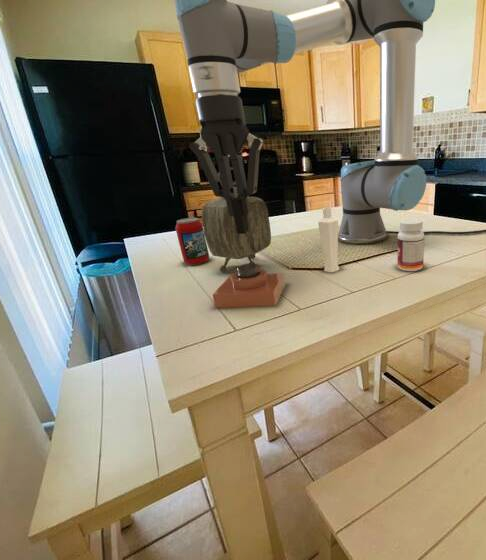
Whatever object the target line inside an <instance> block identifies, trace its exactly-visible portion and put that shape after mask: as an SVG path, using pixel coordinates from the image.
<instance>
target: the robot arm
mask: <svg viewBox="0 0 486 560" xmlns="http://www.w3.org/2000/svg"><path fill="white" fill-rule="evenodd" d="M174 6H175V11H176V19H177V21H178V25H179V29H180V33H181V38H182V42H183V46H184V52H185V55H186V59H187V66H188V71H189V76H190V81H191V86H192V90H193V94H194V95H196V96H198V97H196V99H195V105H196V111H197V115H198V120H199V123H200V131H199V137H198V138H197V139H196V140H195V141H194V142H190V143H189V145H188V147H189V149H190V150H191V152H193V153H194V155H195V156H196V157H197V159H198V162H199V163H200V166H201V168H202V170H203V173H204V175H205V177H206V179H207V181H208V183H209V187H210V188H211V190H212V192H213V195H214V196H215V197H216V198H224V199H225V200H226V203H227V208H228V213H229V215H230V216H234V219H235V224H236V230H237V234H245V233H246V232H247V231H249V228H248V222H247V216H246V215H249V214H250V206H249V200H248V197H250V196H251V195H253V194H255V193H257V191H258V183H259V181H258V180H259V168H260V167H259V165H260V153H261V150H262V148H263V146H264V140H263V138H260V137H257V136H255V135H253V133H252V134H251V132H250V128H248V126H247V124H246V118H245V111H244V106H243V99H242V98H241V97H240V96H239V94H240V93H241V86H240V81H239V75H238V74H241V73H244V72H247V71H251V70H253V69H256V68H258V67H261V66H264V65H268V64H272V63H273V64H274V65H277V64H287V63H289V62H290V61H292V59H293V57H294V56H296V55H298V54H301V53H305V52H308V51H310V50H315V49H316V48H320V47H322V46H323V47H324V46H326V45H329V44H332V43H334V44H336V45H340V46H341V45H344V44H345V45H346V44H348V43H353V42H358V41H365V40H370V39H371V40H372V39H373V41H374V43H376V44H377V45H378V47H379V153H378V154H377V156H376V157H375V158H374V160H366V161H360V162H355V163H349V164H345V165H343V166H342V167H341V169H340V179H339V180H340V189H341V190H340V191H341V204H342V219H341V222H340V226H339V229H338V241H340V242H342V243H345V244H350V245H369V244H374V243H379V242H382V241H384V240H385V239H386V238H387V234H391V235H393V234H394V235H398V233H399V232H400V231H393V230H387V229H386V227H385V224H384V220H383V218H382V215H381V209H387V210H393V211H395V212H396V211H410V210H412V209H414V208H416V206H418V205H419V203H420V202H421V200H423V197H424V194H425V192H426V189H427V174H426V171H425V169H423V167H421V166H420V165H419V157H418V156H417V155H416V154H415V153H414V151H413V150H414V149H413V148H414V123H415V122H414V121H415V120H414V119H415V91H416V89H415V87H416V84H415V83H416V62H417V61H416V58H417V57H416V55H417V45H418V43H419V41H420V40H421V39H422V38H423V36H424V23H425V22H427V21H428V20H429V19H430V18H431V17H432V15H433V13H434V11H435V8H436V0H327V1H326V3H325V4H320V5H316V6H312V7H309V8H305V9H300V10H297V11H293V12H289V13H284V14H282V13H280V12H276V11H274V10H273V9H270V10H266V9H263V8H258V7H253V6H252V7H251V6H247V5H242V4H237V3H234V2H231V1H229V0H174ZM246 144H247V146H248V148H249V152H248V163H247V164H248V165H247V166H248V167H247V178H246V172H245V167H244V162H243V158H244V157H243V150H244V148H245V146H246ZM208 147H209V149H210V150H211V151H212V152H213V153H214V156H215V160H216V163H217V167H218V172H217V169H216V167H215V165H214V162H213V160H212V158H211V156H210V154H209V152H208ZM230 161H231V165H232V166H230ZM230 167H233V170H230ZM232 171H233V175H234V181H232V180H233V177H232ZM219 172H220V178H219V176H218V173H219ZM220 180H221V181H220ZM233 182H236V185H235V186H234V185H233ZM233 186H234V187H237V193H238V196H237V198H235V196H236V194H235V192H234V187H233ZM422 232H423V233H424V235H429V234H437V235H439V234H440V235H441V234H442V235H471V234H480V233H482V234H483V233H486V229H479V230H470V231H445V230H444V231H442V230H441V231H440V230H432V231H431V230H430V231H429V230H428V231H422Z"/></svg>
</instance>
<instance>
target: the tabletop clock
mask: <svg viewBox="0 0 486 560" xmlns="http://www.w3.org/2000/svg"><path fill="white" fill-rule="evenodd" d="M230 170H231V171H233V166H230ZM217 174H218V176H219V178H220V181H221V177H220V172H219V171H218V172H217ZM232 181H233V179H232ZM233 187H234V192H235V194H236V196H235V198H237V196H238V193H237V187H236V182H235V181H233ZM248 200H249V206H250V214H249V215H246V216H247V222H248V228H249V231H247V232H246V233H245V234H237V230H236V224H235V219H234V216H230V215H229V213H228V208H227V203H226V200H225V199H224V198H222V197H217V198H215V199H212V200H209V201H207V202H206V203H204V204H203V205H202V206H201V223H202V226H203V230H204V235H205V239H206V244H207V248H208V251H209V252H210V253H211V255H212V257H219V258H225V260H224V263H223V265H221V266H220V267H219V271H220V272H221V273H224V272H227V270H228V269H227V265H228V263H229V262H230V260H231V259H233V260H243V259H246V258H247V260H248V261H249V262H248V264H256V263H255V261H253V260H255V258H257V257H256V254H258V253H260V252H262V251H263V250H265V249H267V248H268V247H269V246H270V245H271V243H272V232H271V223H270V218H269V212H268V208H267V205H266V202H265V201H264V200H263V199H262V198H260V197H258V196H249V197H248Z"/></svg>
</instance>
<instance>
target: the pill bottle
mask: <svg viewBox="0 0 486 560" xmlns="http://www.w3.org/2000/svg"><path fill="white" fill-rule="evenodd" d="M423 222H424V221H423V220H422V219H418V218H407V219H406V218H405V219H402V220H401V219H400V221H399V230H400V231H398V232H399V233H398V234H397V268H398V269H399V270H401V271H406V272H417V271H420V270H422V268H423V267H424V259H425V258H424V257H425V234H424V233H423V232H424V231H422V230H423V229H424V225H423V224H424V223H423Z"/></svg>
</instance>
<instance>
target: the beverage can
mask: <svg viewBox="0 0 486 560" xmlns="http://www.w3.org/2000/svg"><path fill="white" fill-rule="evenodd" d="M175 232H176V236H177V240H178V244H179V248H180V252H181V256H182V259H183V262H184V263H185V264H188V265H189V266H190V265H191V266H195V265H196V266H197V265H201V264H204V263H206V262H207V261H208V260H209V259H210V254H209V247H208V245H207V241H206V238H205V235H204V230H203V223H202V221H200V220H199V217H187V218H181V219H178V220H176V224H175Z"/></svg>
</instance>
